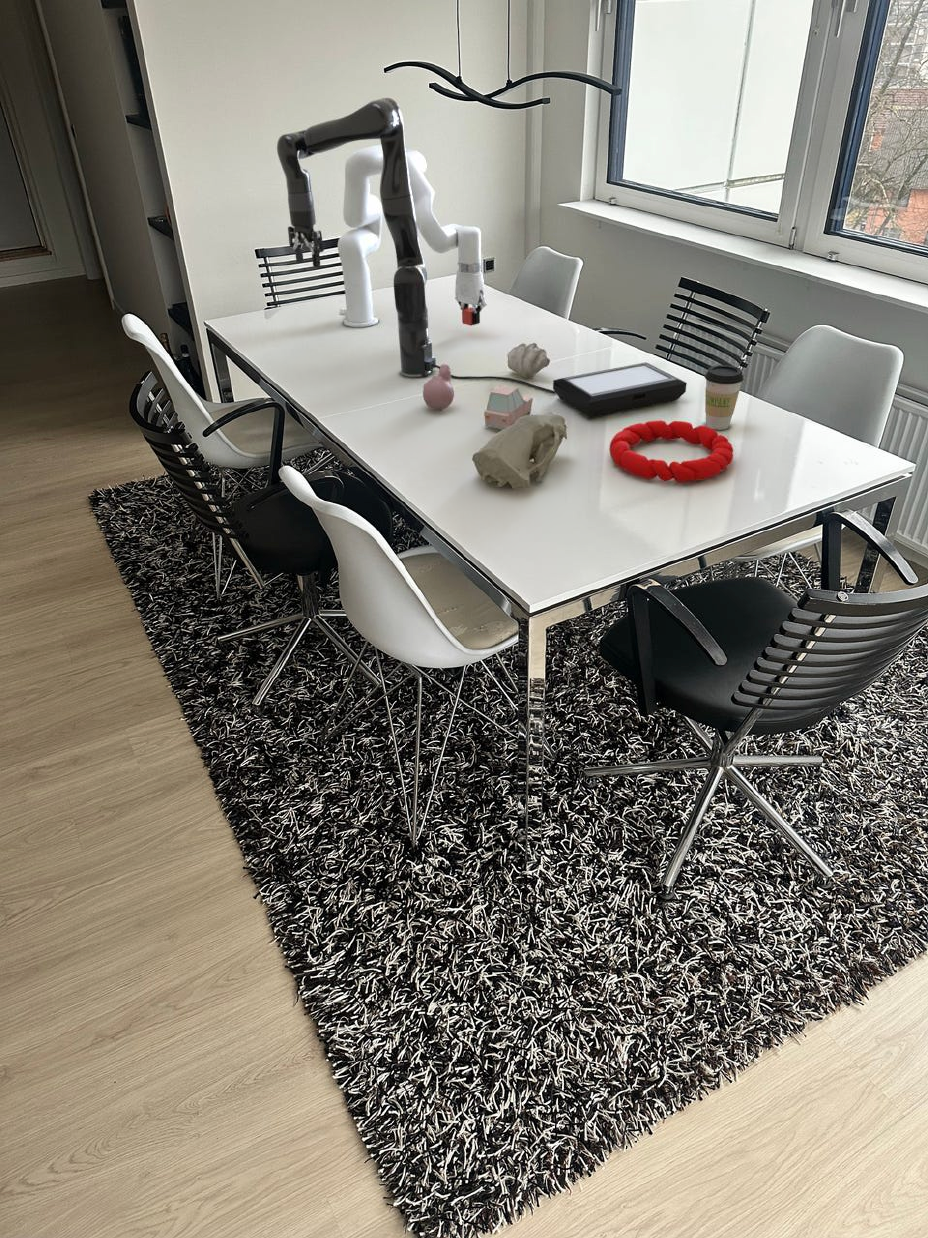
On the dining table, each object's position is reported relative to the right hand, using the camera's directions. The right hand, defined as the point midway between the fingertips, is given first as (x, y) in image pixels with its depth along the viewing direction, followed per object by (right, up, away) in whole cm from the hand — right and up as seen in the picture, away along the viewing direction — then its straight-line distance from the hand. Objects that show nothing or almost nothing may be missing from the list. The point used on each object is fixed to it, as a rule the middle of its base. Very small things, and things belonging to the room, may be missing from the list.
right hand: (308, 264), depth 277 cm
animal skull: (+64, -74, -58) cm, 114 cm away
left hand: (+51, -8, +30) cm, 60 cm away
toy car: (+61, -56, -31) cm, 89 cm away
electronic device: (+93, -47, -20) cm, 106 cm away
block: (+51, -8, +31) cm, 60 cm away
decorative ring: (+100, -71, -54) cm, 134 cm away
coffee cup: (+117, -58, -37) cm, 136 cm away
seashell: (+68, -35, -1) cm, 77 cm away
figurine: (+41, -50, -21) cm, 68 cm away
